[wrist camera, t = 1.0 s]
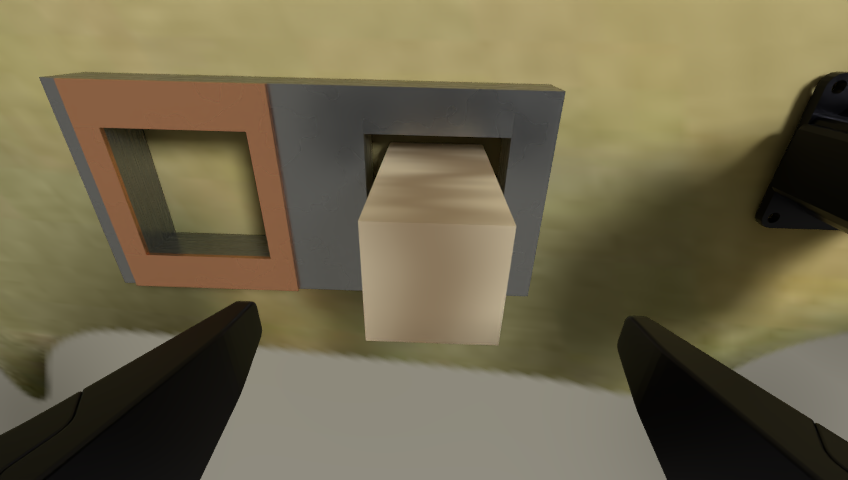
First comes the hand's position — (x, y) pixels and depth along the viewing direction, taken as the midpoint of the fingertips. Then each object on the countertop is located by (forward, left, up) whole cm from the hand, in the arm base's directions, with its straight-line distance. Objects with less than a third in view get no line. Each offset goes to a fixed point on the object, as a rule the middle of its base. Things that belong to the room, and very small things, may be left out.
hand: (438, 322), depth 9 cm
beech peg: (0, 0, -9) cm, 9 cm away
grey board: (+5, 0, -9) cm, 11 cm away
